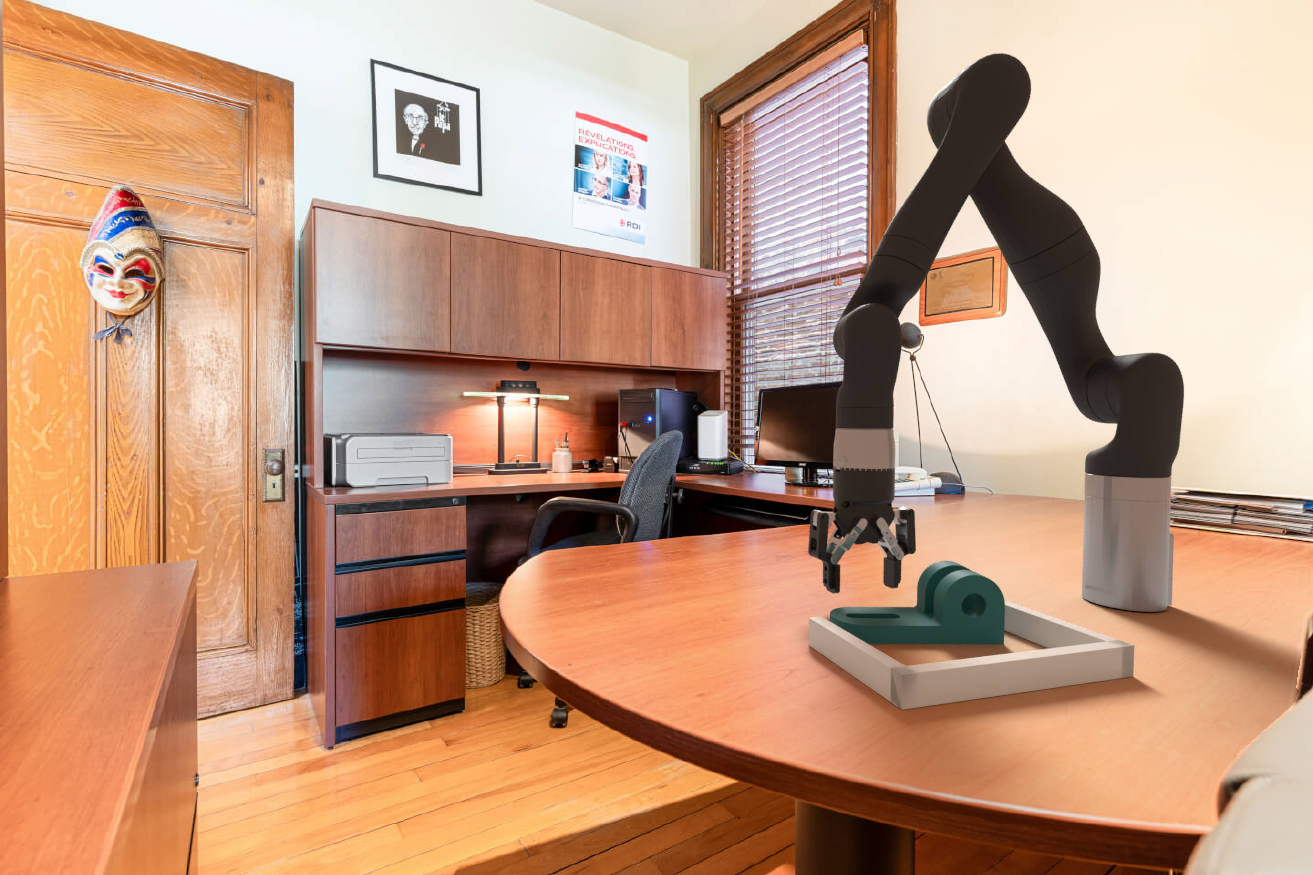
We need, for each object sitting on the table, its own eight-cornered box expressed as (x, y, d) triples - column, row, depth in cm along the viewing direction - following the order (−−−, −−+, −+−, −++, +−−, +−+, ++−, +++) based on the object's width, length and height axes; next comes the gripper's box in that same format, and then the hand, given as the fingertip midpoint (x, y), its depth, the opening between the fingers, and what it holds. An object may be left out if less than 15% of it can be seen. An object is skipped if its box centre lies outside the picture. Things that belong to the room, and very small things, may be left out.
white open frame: (1002, 624, 74) (1003, 599, 74) (1133, 676, 59) (1134, 645, 59) (808, 644, 67) (808, 617, 67) (901, 709, 52) (902, 674, 52)
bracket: (972, 625, 74) (974, 560, 74) (1004, 646, 68) (1005, 575, 68) (822, 624, 75) (823, 560, 74) (839, 645, 68) (840, 574, 68)
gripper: (893, 461, 85) (891, 578, 85) (799, 462, 81) (798, 585, 82) (931, 465, 78) (928, 593, 78) (830, 467, 74) (828, 602, 74)
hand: (862, 589), depth 80 cm, fingers open, 8 cm apart
